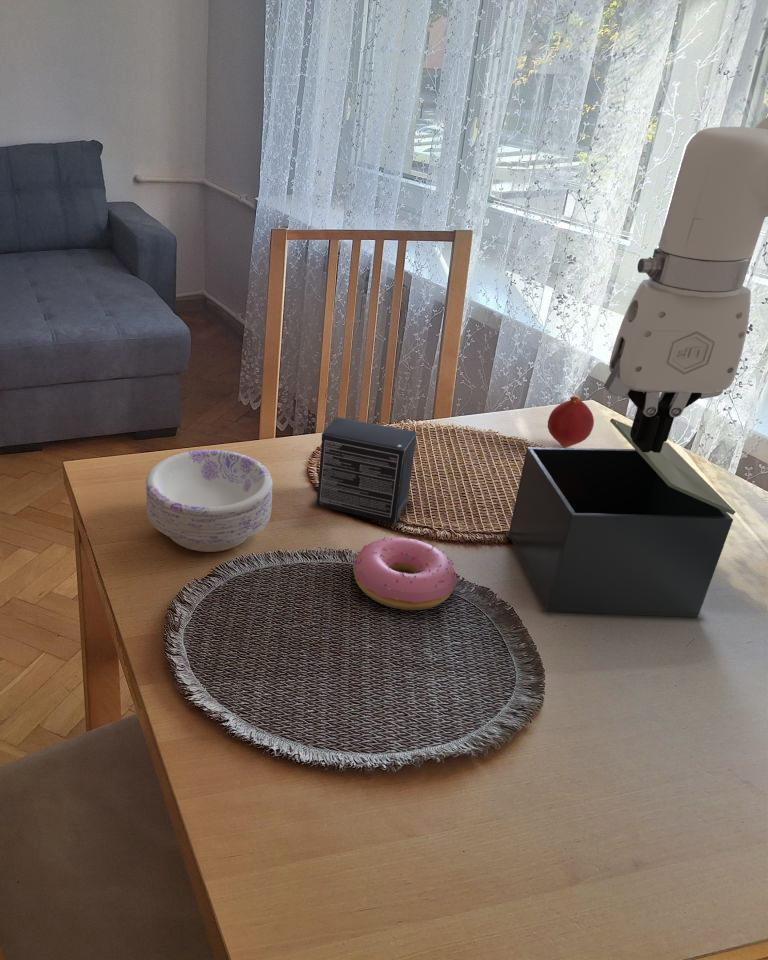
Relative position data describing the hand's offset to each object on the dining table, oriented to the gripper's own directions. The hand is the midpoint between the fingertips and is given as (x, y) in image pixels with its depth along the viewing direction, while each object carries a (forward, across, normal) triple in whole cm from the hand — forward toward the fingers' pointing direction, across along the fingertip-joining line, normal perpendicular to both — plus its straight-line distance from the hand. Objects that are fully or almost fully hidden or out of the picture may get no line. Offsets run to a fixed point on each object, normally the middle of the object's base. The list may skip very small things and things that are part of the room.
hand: (645, 446), depth 89 cm
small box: (+16, -25, +14) cm, 33 cm away
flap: (+2, +3, 0) cm, 3 cm away
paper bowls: (+17, -45, +6) cm, 48 cm away
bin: (+16, -1, 0) cm, 16 cm away
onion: (+16, +6, +32) cm, 36 cm away
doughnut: (+16, -23, -4) cm, 29 cm away
